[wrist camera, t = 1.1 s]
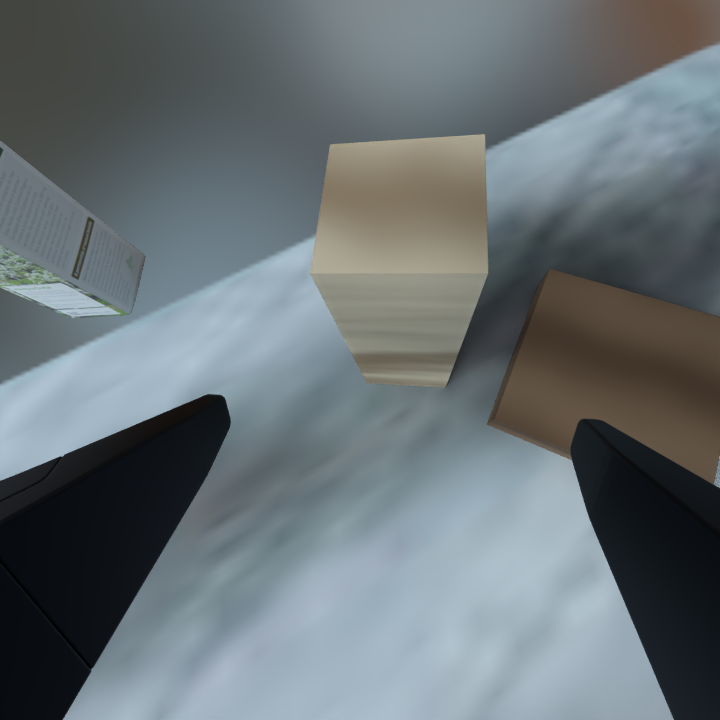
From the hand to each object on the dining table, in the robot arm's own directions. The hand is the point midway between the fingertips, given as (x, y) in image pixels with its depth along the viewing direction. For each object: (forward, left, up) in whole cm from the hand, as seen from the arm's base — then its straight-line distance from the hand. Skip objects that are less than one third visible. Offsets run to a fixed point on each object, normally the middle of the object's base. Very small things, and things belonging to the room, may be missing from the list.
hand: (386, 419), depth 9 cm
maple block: (+6, -3, -13) cm, 14 cm away
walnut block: (-1, -12, -13) cm, 18 cm away
